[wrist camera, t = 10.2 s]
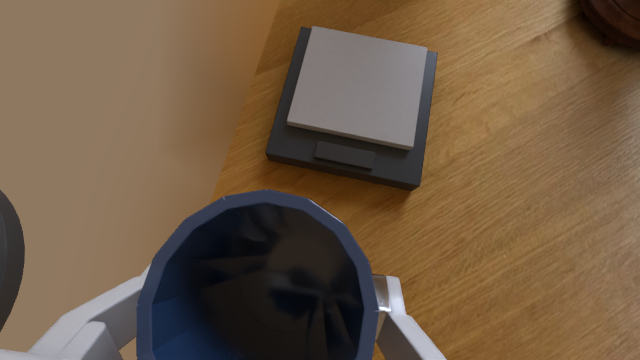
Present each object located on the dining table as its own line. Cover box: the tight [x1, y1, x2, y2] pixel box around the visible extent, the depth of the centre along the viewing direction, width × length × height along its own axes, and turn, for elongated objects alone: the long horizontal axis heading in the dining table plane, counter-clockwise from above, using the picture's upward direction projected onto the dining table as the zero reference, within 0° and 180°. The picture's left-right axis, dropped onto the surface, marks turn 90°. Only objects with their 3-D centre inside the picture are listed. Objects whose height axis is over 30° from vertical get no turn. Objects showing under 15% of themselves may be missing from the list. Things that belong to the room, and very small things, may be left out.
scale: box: [265, 26, 438, 191], centre depth 31 cm, size 16×16×3 cm
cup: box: [136, 189, 379, 360], centre depth 12 cm, size 6×6×9 cm
